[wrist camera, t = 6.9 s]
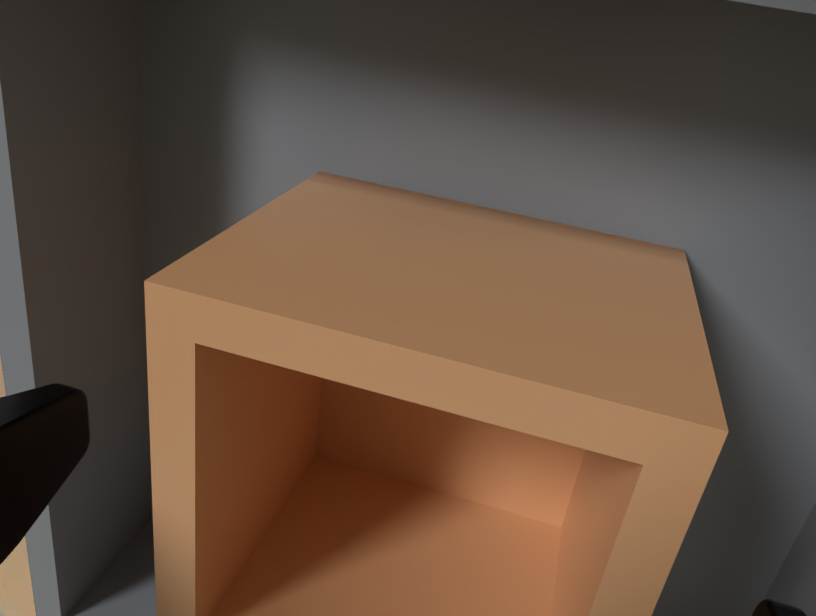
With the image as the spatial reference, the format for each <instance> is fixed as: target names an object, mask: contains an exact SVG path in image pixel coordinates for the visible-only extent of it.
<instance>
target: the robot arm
mask: <svg viewBox="0 0 816 616" xmlns="http://www.w3.org/2000/svg"><path fill="white" fill-rule="evenodd" d="M89 443H90V424H89V410H88V399H87V396H86V394H85V393H84V392H83V391H82V390H80V389H77V388H74V387H71V386H68V385H64V384H60V383H53V384H49V385H45V386H42V387H38V388H34V389H31V390H27V391H23V392H19V393H16V394H12V395H8V396H5V397H1V398H0V564H1V563H2V562H3V561H4V560H5V559H6V558H7V557H8V555H9V554H10V553H11V552H12V551H13V550H14V548H15V547H16V546H17V545H18V544H19V542H20V541H21V540H22V539H23V537H24V536H25V535H26V533H27V532H28V531H29V530H30V528H31V527H32V526H33V524H34V523H35V522H36V520H37V519H38V518H39V516H40V515H41V513H42V512H43V511H44V509H45V508H46V507H47V505H48V504H49V503H50V501H51V500H52V499H53V497H54V496H55V495H56V493H57V492H58V490H59V489H60V488H61V486H62V485H63V484H64V482H65V481H66V480H67V478H68V477H69V476H70V474H71V473H72V471H73V470H74V469H75V467H76V466H77V465H78V463H79V462H80V461H81V459H82V458H83V457H84V455H85V453H86V451H87V449H88V447H89ZM752 616H807V615H806V614H805V613H804V612H803V611H802V610H801V609H799V608H797V607H794V606H791V605H788V604H784V603H781V602H778V601H774V600H771V599H764V600H762V601H761V602H760V603H759V604H758V605H757V606H756V608H755V610H754V612H753V614H752Z"/></svg>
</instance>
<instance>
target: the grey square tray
mask: <svg viewBox="0 0 816 616" xmlns="http://www.w3.org/2000/svg"><path fill="white" fill-rule="evenodd" d="M319 171H321V172H326V173H330V174H335V175H340V176H344V177H349V178H353V179H358V180H363V181H367V182H372V183H377V184H381V185H386V186H390V187H395V188H400V189H404V190H409V191H414V192H418V193H423V194H428V195H432V196H437V197H441V198H446V199H451V200H455V201H460V202H465V203H469V204H474V205H478V206H483V207H488V208H492V209H497V210H502V211H506V212H511V213H515V214H520V215H525V216H529V217H534V218H539V219H543V220H548V221H552V222H557V223H562V224H566V225H571V226H576V227H580V228H585V229H589V230H594V231H599V232H603V233H608V234H613V235H617V236H622V237H627V238H631V239H636V240H640V241H645V242H650V243H654V244H659V245H664V246H668V247H673V248H677V249H682V250H685V254H686V258H687V262H688V266H689V270H690V274H691V278H692V282H693V287H694V291H695V295H696V299H697V303H698V307H699V311H700V315H701V320H702V324H703V328H704V332H705V336H706V340H707V344H708V348H709V353H710V357H711V361H712V365H713V369H714V373H715V377H716V381H717V386H718V390H719V394H720V398H721V402H722V406H723V410H724V414H725V419H726V423H727V427H728V431H729V432H728V435H727V437H726V439H725V442H724V444H723V447H722V449H721V451H720V454H719V456H718V458H717V461H716V463H715V466H714V468H713V470H712V473H711V475H710V477H709V480H708V482H707V485H706V487H705V489H704V492H703V494H702V496H701V499H700V501H699V504H698V506H697V508H696V511H695V513H694V515H693V518H692V520H691V523H690V525H689V527H688V530H687V532H686V534H685V537H684V539H683V542H682V544H681V546H680V549H679V551H678V553H677V556H676V558H675V561H674V563H673V565H672V568H671V570H670V572H669V575H668V577H667V580H666V582H665V584H664V587H663V589H662V592H661V594H660V596H659V599H658V601H657V603H656V606H655V608H654V611H653V613H652V615H651V616H752V614H753V612H754V610H755V608H756V606H757V605H758V604H759V603H760V602H761V601H762V600H764V599H771V600H774V601H778V602H781V603H784V604H788V605H791V606H794V607H797V608H799V609H801V610H802V611H803V612H804V613H805V614H806V615H807V616H816V0H0V354H1V361H2V369H3V376H4V383H5V391H6V396H8V395H12V394H16V393H19V392H23V391H27V390H31V389H34V388H38V387H42V386H45V385H49V384H53V383H60V384H64V385H68V386H71V387H74V388H77V389H80V390H82V391H83V392H84V393H85V394H86V396H87V399H88V410H89V424H90V443H89V447H88V449H87V451H86V453H85V455H84V457H83V458H82V459H81V461H80V462H79V463H78V465H77V466H76V467H75V469H74V470H73V471H72V473H71V474H70V476H69V477H68V478H67V480H66V481H65V482H64V484H63V485H62V486H61V488H60V489H59V490H58V492H57V493H56V495H55V496H54V497H53V499H52V500H51V501H50V503H49V504H48V505H47V507H46V508H45V509H44V511H43V512H42V513H41V515H40V516H39V518H38V519H37V520H36V522H35V523H34V524H33V526H32V527H31V528H30V530H29V531H28V532H27V533H26V535H25V537H26V545H27V552H28V559H29V567H30V574H31V581H32V589H33V596H34V603H35V611H36V616H156V591H155V564H154V537H153V509H152V482H151V455H150V427H149V400H148V373H147V345H146V318H145V290H144V281H145V280H146V279H148V278H149V277H151V276H153V275H154V274H156V273H157V272H159V271H161V270H162V269H164V268H165V267H167V266H169V265H170V264H172V263H173V262H175V261H177V260H178V259H180V258H181V257H183V256H185V255H186V254H188V253H189V252H191V251H193V250H194V249H196V248H197V247H199V246H201V245H202V244H204V243H205V242H207V241H209V240H210V239H212V238H214V237H215V236H217V235H218V234H220V233H222V232H223V231H225V230H226V229H228V228H230V227H231V226H233V225H234V224H236V223H238V222H239V221H241V220H242V219H244V218H246V217H247V216H249V215H250V214H252V213H254V212H255V211H257V210H258V209H260V208H262V207H263V206H265V205H266V204H268V203H270V202H271V201H273V200H274V199H276V198H278V197H279V196H281V195H282V194H284V193H286V192H287V191H289V190H291V189H292V188H294V187H295V186H297V185H299V184H300V183H302V182H303V181H305V180H307V179H308V178H310V177H311V176H313V175H315V174H316V173H318V172H319Z"/></svg>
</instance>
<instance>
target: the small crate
mask: <svg viewBox="0 0 816 616" xmlns="http://www.w3.org/2000/svg"><path fill="white" fill-rule="evenodd" d="M144 290H145V318H146V345H147V373H148V400H149V427H150V455H151V482H152V509H153V537H154V564H155V591H156V616H651V615H652V613H653V611H654V608H655V606H656V603H657V601H658V599H659V596H660V594H661V592H662V589H663V587H664V584H665V582H666V580H667V577H668V575H669V572H670V570H671V568H672V565H673V563H674V561H675V558H676V556H677V553H678V551H679V549H680V546H681V544H682V542H683V539H684V537H685V534H686V532H687V530H688V527H689V525H690V523H691V520H692V518H693V515H694V513H695V511H696V508H697V506H698V504H699V501H700V499H701V496H702V494H703V492H704V489H705V487H706V485H707V482H708V480H709V477H710V475H711V473H712V470H713V468H714V466H715V463H716V461H717V458H718V456H719V454H720V451H721V449H722V447H723V444H724V442H725V439H726V437H727V435H728V432H729V431H728V427H727V423H726V419H725V414H724V410H723V406H722V402H721V398H720V394H719V390H718V386H717V381H716V377H715V373H714V369H713V365H712V361H711V357H710V353H709V348H708V344H707V340H706V336H705V332H704V328H703V324H702V320H701V315H700V311H699V307H698V303H697V299H696V295H695V291H694V287H693V282H692V278H691V274H690V270H689V266H688V262H687V258H686V254H685V250H682V249H677V248H673V247H668V246H664V245H659V244H654V243H650V242H645V241H640V240H636V239H631V238H627V237H622V236H617V235H613V234H608V233H603V232H599V231H594V230H589V229H585V228H580V227H576V226H571V225H566V224H562V223H557V222H552V221H548V220H543V219H539V218H534V217H529V216H525V215H520V214H515V213H511V212H506V211H502V210H497V209H492V208H488V207H483V206H478V205H474V204H469V203H465V202H460V201H455V200H451V199H446V198H441V197H437V196H432V195H428V194H423V193H418V192H414V191H409V190H404V189H400V188H395V187H390V186H386V185H381V184H377V183H372V182H367V181H363V180H358V179H353V178H349V177H344V176H340V175H335V174H330V173H326V172H321V171H319V172H318V173H316V174H315V175H313V176H311V177H310V178H308V179H307V180H305V181H303V182H302V183H300V184H299V185H297V186H295V187H294V188H292V189H291V190H289V191H287V192H286V193H284V194H282V195H281V196H279V197H278V198H276V199H274V200H273V201H271V202H270V203H268V204H266V205H265V206H263V207H262V208H260V209H258V210H257V211H255V212H254V213H252V214H250V215H249V216H247V217H246V218H244V219H242V220H241V221H239V222H238V223H236V224H234V225H233V226H231V227H230V228H228V229H226V230H225V231H223V232H222V233H220V234H218V235H217V236H215V237H214V238H212V239H210V240H209V241H207V242H205V243H204V244H202V245H201V246H199V247H197V248H196V249H194V250H193V251H191V252H189V253H188V254H186V255H185V256H183V257H181V258H180V259H178V260H177V261H175V262H173V263H172V264H170V265H169V266H167V267H165V268H164V269H162V270H161V271H159V272H157V273H156V274H154V275H153V276H151V277H149V278H148V279H146V280H145V281H144Z"/></svg>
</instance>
